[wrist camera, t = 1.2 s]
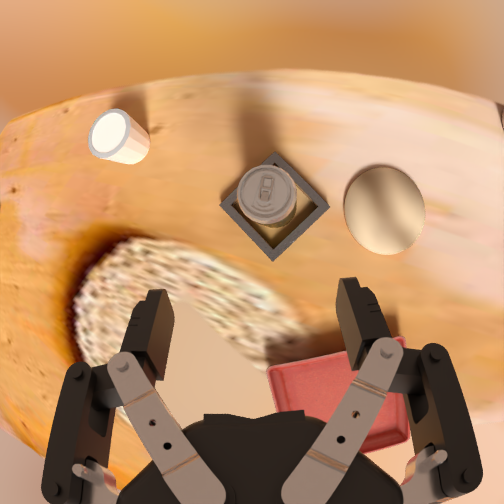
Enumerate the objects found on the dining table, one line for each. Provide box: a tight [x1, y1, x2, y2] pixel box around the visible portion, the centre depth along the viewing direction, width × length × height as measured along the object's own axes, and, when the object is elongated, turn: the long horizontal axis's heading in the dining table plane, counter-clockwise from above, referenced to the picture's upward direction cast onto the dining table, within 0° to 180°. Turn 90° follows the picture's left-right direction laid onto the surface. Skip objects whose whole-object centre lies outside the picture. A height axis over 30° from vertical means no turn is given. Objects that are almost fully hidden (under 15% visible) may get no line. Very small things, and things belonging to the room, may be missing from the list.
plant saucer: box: [266, 336, 410, 454], centre depth 36 cm, size 18×18×3 cm
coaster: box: [344, 167, 425, 255], centre depth 36 cm, size 11×11×1 cm
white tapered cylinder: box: [88, 108, 150, 164], centre depth 37 cm, size 7×7×7 cm
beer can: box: [237, 165, 297, 228], centre depth 32 cm, size 5×5×12 cm
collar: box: [220, 152, 330, 261], centre depth 37 cm, size 10×10×2 cm
